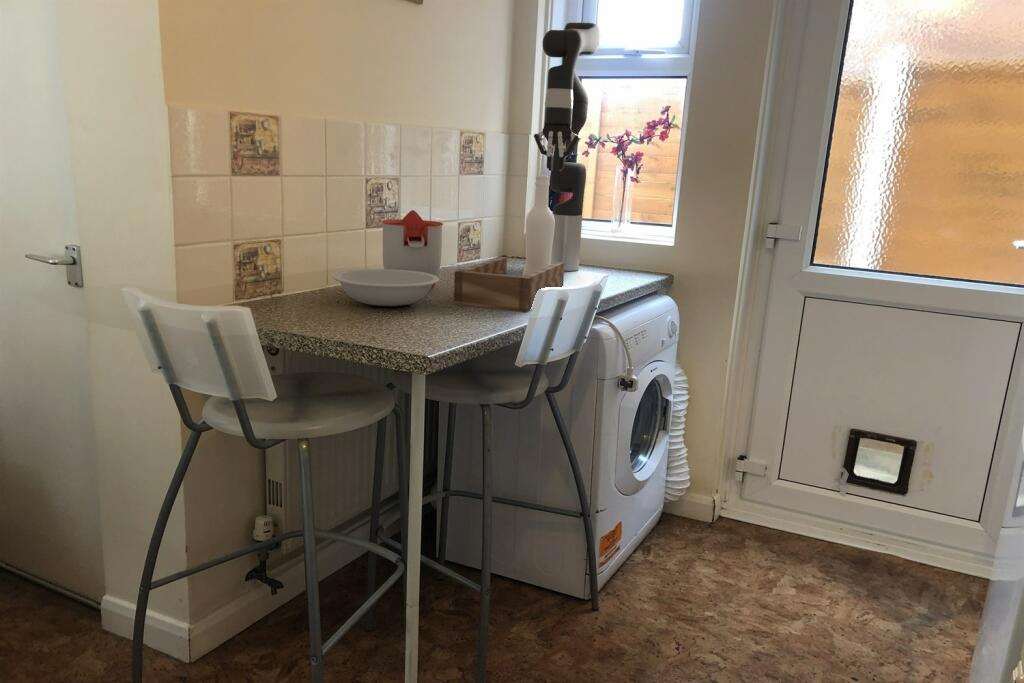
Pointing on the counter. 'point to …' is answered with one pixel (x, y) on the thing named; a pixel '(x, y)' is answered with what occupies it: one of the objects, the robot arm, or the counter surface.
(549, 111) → the robot arm
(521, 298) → the brown wooden open box
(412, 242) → the citrus juicer
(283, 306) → the counter surface
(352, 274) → the soup bowl
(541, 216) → the bottle
